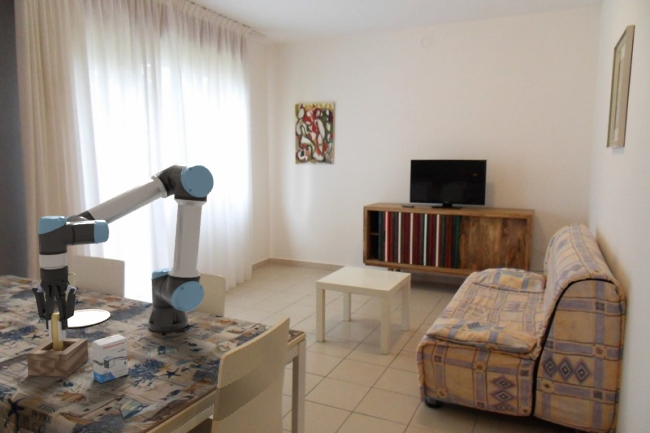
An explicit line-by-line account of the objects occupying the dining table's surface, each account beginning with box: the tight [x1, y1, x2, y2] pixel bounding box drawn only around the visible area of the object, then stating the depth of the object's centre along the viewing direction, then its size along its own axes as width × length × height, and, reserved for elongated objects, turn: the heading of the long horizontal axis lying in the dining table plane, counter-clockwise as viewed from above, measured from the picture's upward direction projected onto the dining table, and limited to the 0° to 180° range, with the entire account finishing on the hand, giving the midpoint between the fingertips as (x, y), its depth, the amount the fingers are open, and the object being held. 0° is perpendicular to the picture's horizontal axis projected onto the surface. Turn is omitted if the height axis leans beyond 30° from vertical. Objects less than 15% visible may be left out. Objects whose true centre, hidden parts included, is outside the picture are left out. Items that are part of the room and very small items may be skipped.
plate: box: [67, 308, 111, 329], centre depth 186 cm, size 21×21×1 cm
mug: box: [65, 272, 76, 303], centre depth 207 cm, size 11×10×12 cm
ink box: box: [91, 333, 129, 384], centre depth 138 cm, size 9×5×12 cm, turn 141°
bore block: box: [26, 337, 89, 377], centre depth 143 cm, size 12×12×7 cm
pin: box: [52, 311, 64, 351], centre depth 142 cm, size 3×3×12 cm
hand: (57, 339), depth 143 cm, fingers closed on pin, 2 cm apart
